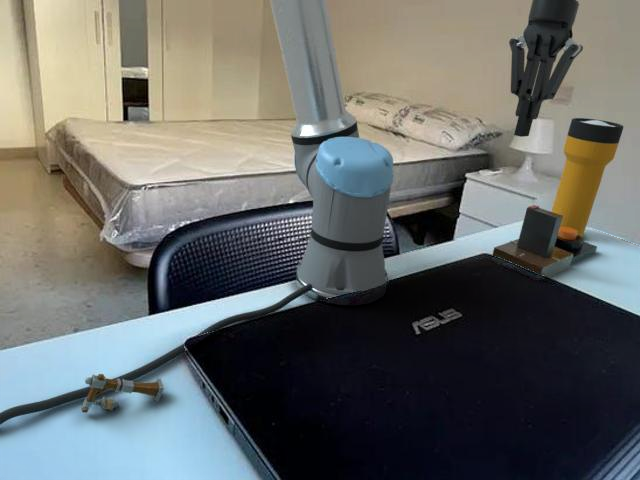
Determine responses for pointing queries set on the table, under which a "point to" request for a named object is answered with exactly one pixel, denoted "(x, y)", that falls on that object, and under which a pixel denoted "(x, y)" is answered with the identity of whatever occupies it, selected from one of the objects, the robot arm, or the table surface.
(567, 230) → the button
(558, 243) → the button block
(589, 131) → the flashlight
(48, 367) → the table surface
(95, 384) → the toy blaster gun
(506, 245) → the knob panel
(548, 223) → the dark gray rectangular block
